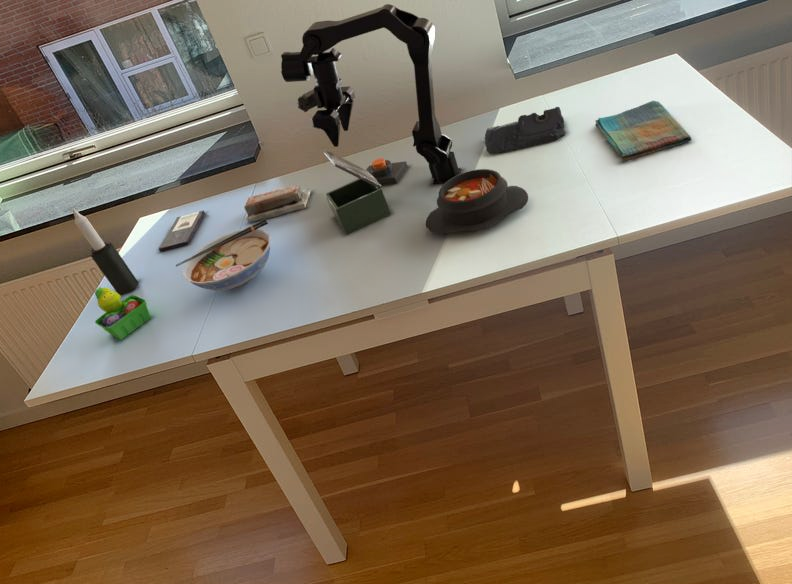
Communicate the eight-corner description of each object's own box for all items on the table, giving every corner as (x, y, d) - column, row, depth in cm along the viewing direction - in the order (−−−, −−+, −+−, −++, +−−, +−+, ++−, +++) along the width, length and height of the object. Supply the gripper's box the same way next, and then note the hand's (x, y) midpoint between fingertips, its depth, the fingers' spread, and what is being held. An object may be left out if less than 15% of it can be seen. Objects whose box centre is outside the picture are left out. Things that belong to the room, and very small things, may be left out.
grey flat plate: (334, 166, 168) (335, 163, 168) (323, 151, 177) (324, 148, 176) (380, 188, 175) (381, 186, 175) (367, 174, 184) (368, 171, 184)
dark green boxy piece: (346, 234, 178) (335, 209, 174) (335, 217, 187) (324, 193, 183) (391, 214, 180) (381, 189, 175) (377, 198, 189) (368, 174, 184)
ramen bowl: (200, 322, 166) (182, 295, 161) (188, 281, 183) (172, 255, 178) (296, 275, 170) (282, 247, 165) (276, 240, 187) (262, 213, 182)
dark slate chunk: (486, 133, 201) (482, 118, 198) (562, 115, 196) (560, 98, 193) (485, 157, 189) (481, 141, 186) (567, 138, 184) (564, 121, 181)
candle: (122, 285, 192) (66, 206, 177) (139, 280, 192) (84, 200, 176) (117, 296, 188) (59, 216, 173) (134, 290, 188) (78, 210, 172)
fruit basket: (119, 345, 168) (91, 308, 161) (103, 335, 174) (75, 300, 167) (157, 316, 174) (132, 279, 167) (141, 308, 179) (116, 272, 172)
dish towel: (659, 107, 183) (658, 97, 182) (693, 141, 165) (692, 131, 164) (595, 127, 185) (593, 118, 183) (621, 163, 167) (620, 153, 165)
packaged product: (240, 209, 197) (247, 192, 204) (247, 224, 200) (255, 207, 207) (299, 193, 193) (305, 177, 201) (306, 208, 196) (311, 192, 204)
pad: (408, 167, 199) (404, 155, 196) (396, 183, 193) (392, 171, 190) (371, 171, 203) (367, 160, 201) (359, 187, 197) (354, 176, 195)
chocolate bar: (158, 248, 201) (177, 217, 215) (160, 251, 202) (178, 220, 216) (186, 241, 200) (203, 210, 213) (188, 244, 200) (205, 213, 214)
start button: (388, 163, 197) (386, 157, 195) (383, 169, 194) (381, 164, 193) (376, 164, 198) (374, 159, 197) (372, 171, 196) (369, 165, 195)
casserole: (521, 183, 173) (514, 152, 168) (537, 219, 158) (529, 186, 153) (424, 213, 175) (414, 183, 170) (431, 251, 161) (420, 220, 155)
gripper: (308, 66, 182) (322, 124, 193) (284, 96, 169) (301, 156, 179) (348, 63, 180) (361, 122, 190) (327, 93, 167) (342, 154, 177)
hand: (341, 138), depth 184 cm, fingers open, 9 cm apart
